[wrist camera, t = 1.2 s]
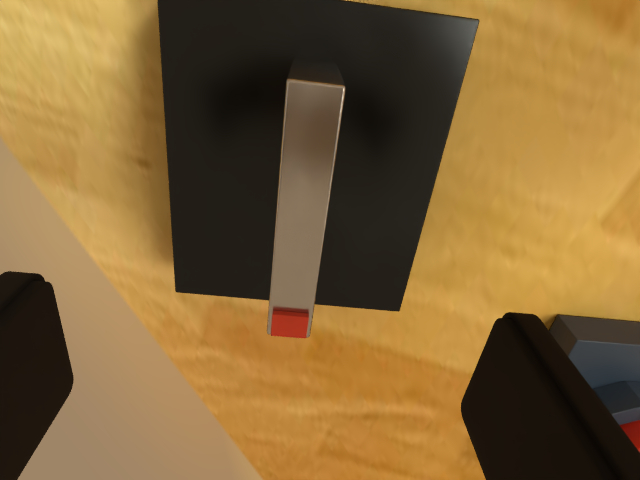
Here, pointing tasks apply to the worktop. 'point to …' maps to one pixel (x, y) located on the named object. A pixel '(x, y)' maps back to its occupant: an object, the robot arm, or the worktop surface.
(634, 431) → the button
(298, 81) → the silver lever handle
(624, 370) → the red push button box
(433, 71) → the base
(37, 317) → the robot arm
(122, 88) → the worktop surface
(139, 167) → the worktop surface
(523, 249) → the worktop surface
